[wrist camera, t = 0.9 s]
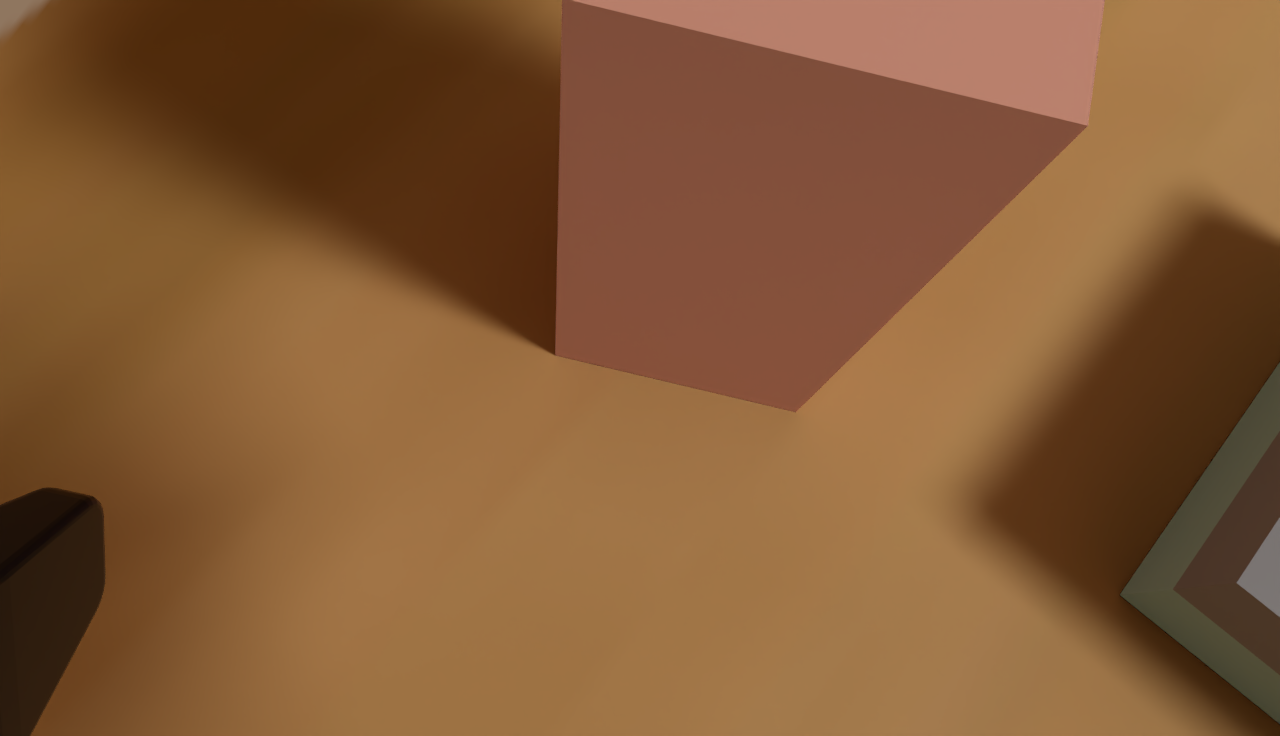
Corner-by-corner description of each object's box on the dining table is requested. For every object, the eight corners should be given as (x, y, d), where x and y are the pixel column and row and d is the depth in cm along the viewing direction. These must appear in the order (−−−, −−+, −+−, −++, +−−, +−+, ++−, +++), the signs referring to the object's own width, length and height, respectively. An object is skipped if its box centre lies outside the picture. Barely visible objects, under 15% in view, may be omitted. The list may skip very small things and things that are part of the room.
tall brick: (795, 411, 23) (1087, 125, 11) (555, 355, 23) (561, -2, 11) (839, 189, 24) (1145, -304, 12) (610, 134, 24) (676, -421, 12)
